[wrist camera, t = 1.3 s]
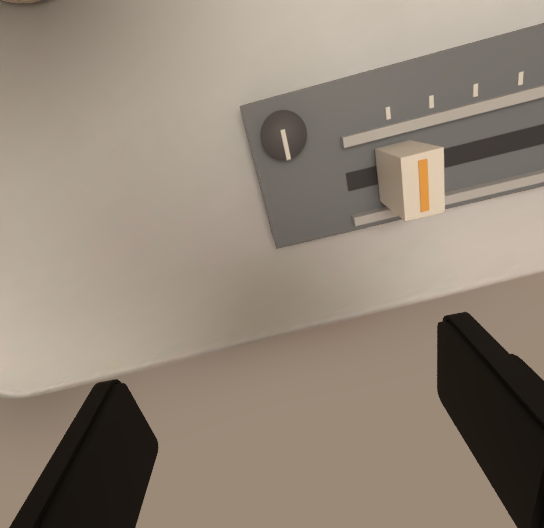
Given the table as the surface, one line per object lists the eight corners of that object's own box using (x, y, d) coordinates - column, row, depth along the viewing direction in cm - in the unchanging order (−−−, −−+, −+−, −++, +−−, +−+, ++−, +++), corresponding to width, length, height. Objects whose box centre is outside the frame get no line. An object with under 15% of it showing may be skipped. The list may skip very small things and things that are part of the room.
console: (241, 106, 25) (238, 106, 22) (694, -18, 22) (772, -40, 19) (275, 237, 30) (277, 254, 26) (654, 148, 27) (711, 153, 24)
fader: (374, 148, 24) (401, 158, 19) (409, 139, 24) (444, 147, 19) (380, 201, 26) (405, 221, 21) (412, 193, 25) (445, 212, 21)
